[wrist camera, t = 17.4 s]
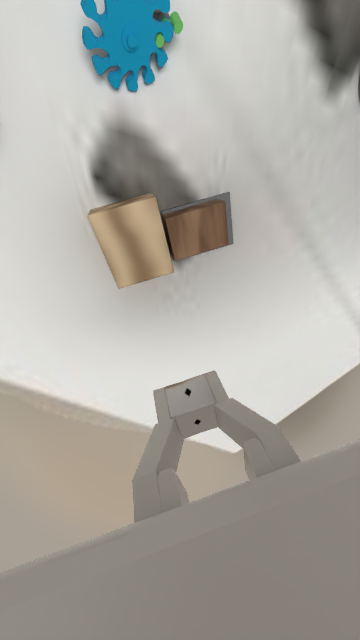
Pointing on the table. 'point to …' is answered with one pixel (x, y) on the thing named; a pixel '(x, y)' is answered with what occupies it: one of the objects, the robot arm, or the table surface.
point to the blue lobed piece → (130, 37)
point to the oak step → (132, 239)
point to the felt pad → (222, 197)
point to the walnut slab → (196, 228)
